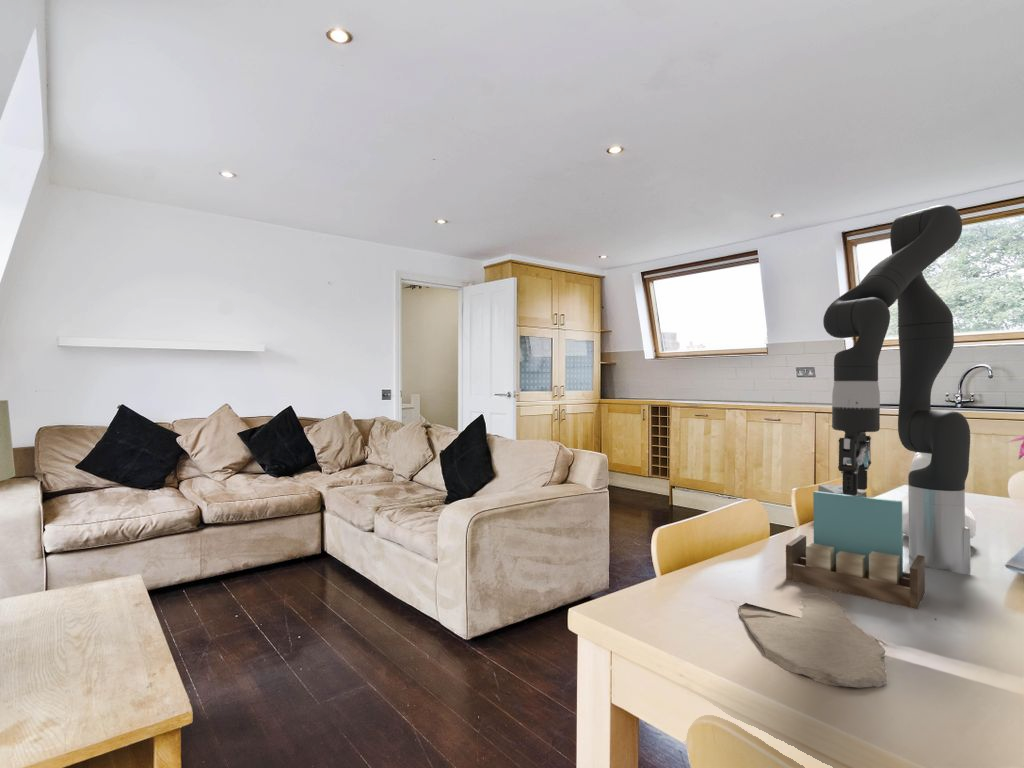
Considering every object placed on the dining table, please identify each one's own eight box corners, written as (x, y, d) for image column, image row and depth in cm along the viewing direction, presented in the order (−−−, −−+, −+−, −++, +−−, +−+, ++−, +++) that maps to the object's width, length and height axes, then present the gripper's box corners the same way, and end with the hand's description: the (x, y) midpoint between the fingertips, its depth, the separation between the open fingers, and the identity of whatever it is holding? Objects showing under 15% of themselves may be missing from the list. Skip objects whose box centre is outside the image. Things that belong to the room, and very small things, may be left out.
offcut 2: (899, 596, 93) (899, 555, 93) (897, 601, 91) (896, 559, 91) (872, 590, 95) (872, 551, 96) (869, 594, 93) (868, 554, 93)
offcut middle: (865, 588, 96) (865, 555, 96) (862, 593, 94) (862, 559, 94) (840, 583, 99) (840, 550, 99) (836, 587, 97) (836, 554, 97)
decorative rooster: (975, 556, 120) (974, 446, 121) (890, 542, 131) (889, 441, 131) (977, 534, 139) (976, 438, 139) (902, 523, 149) (901, 435, 150)
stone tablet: (828, 605, 94) (828, 591, 94) (918, 701, 65) (918, 681, 65) (728, 597, 97) (728, 584, 97) (771, 686, 68) (771, 666, 68)
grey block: (835, 527, 145) (835, 489, 146) (814, 520, 154) (814, 484, 154) (868, 526, 147) (868, 488, 147) (845, 519, 155) (845, 483, 155)
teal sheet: (902, 590, 95) (902, 501, 95) (901, 592, 94) (901, 502, 94) (815, 572, 105) (815, 491, 105) (813, 573, 104) (813, 491, 104)
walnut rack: (925, 601, 94) (924, 555, 94) (917, 618, 87) (917, 569, 87) (801, 574, 108) (801, 534, 108) (785, 587, 101) (785, 545, 101)
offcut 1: (834, 581, 100) (834, 547, 100) (830, 586, 97) (830, 550, 98) (810, 576, 102) (810, 542, 102) (806, 580, 100) (805, 546, 100)
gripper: (871, 406, 92) (871, 500, 92) (886, 405, 103) (886, 490, 102) (822, 405, 97) (822, 494, 97) (841, 404, 108) (841, 484, 108)
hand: (855, 491), depth 100 cm, fingers open, 8 cm apart
